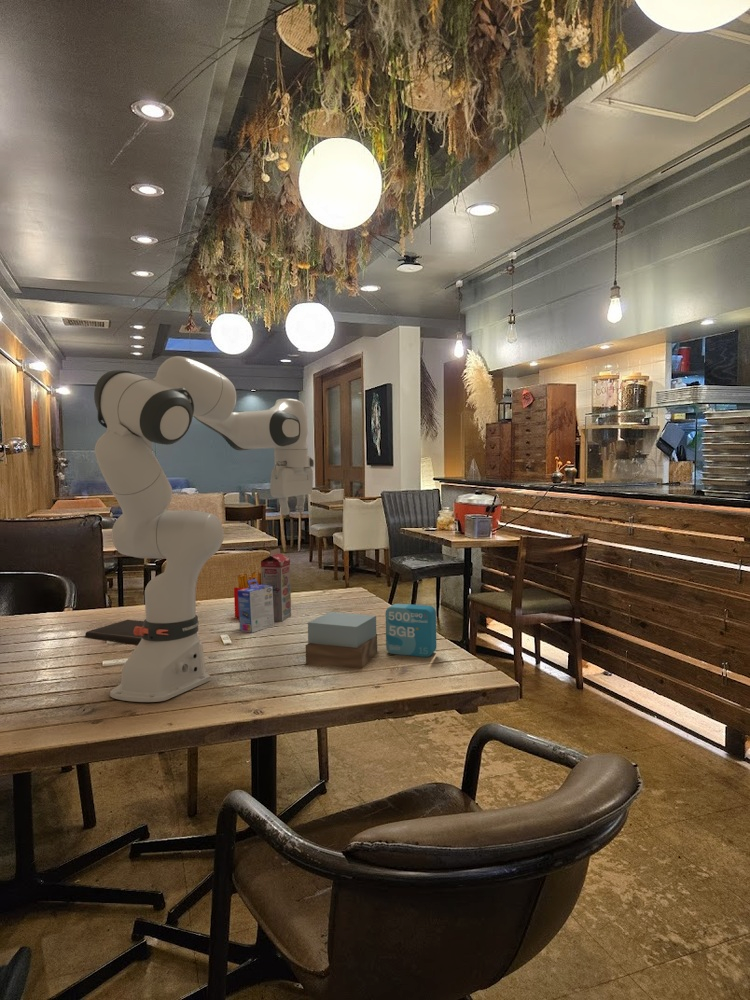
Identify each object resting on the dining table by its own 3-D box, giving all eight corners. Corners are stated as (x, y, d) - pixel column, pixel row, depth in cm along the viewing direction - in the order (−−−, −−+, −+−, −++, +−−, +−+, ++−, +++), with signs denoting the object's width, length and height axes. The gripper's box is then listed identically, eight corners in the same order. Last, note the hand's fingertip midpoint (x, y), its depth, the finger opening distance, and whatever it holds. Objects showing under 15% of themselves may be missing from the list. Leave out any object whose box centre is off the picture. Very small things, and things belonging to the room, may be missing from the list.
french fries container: (233, 619, 203) (232, 575, 203) (254, 613, 211) (253, 571, 210) (249, 622, 199) (248, 577, 198) (270, 616, 207) (269, 572, 206)
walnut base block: (361, 669, 152) (361, 648, 152) (305, 665, 156) (305, 645, 156) (377, 653, 166) (377, 633, 166) (325, 649, 170) (325, 630, 169)
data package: (385, 653, 164) (385, 606, 163) (391, 648, 168) (391, 602, 167) (431, 657, 159) (431, 609, 159) (436, 652, 164) (436, 605, 163)
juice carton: (262, 621, 200) (260, 550, 199) (272, 616, 207) (270, 547, 205) (282, 622, 198) (280, 551, 197) (291, 617, 205) (289, 548, 203)
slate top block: (356, 647, 153) (356, 626, 153) (308, 642, 158) (307, 622, 158) (376, 635, 164) (376, 615, 164) (330, 630, 169) (330, 611, 169)
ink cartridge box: (261, 623, 197) (260, 576, 196) (275, 626, 194) (273, 578, 193) (237, 631, 189) (236, 581, 188) (251, 633, 186) (250, 583, 185)
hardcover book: (128, 626, 199) (127, 619, 199) (187, 633, 189) (187, 625, 189) (85, 640, 184) (84, 632, 184) (147, 647, 175) (147, 639, 175)
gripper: (286, 460, 161) (288, 516, 161) (316, 460, 180) (317, 510, 181) (263, 461, 162) (264, 516, 163) (295, 461, 182) (296, 510, 183)
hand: (292, 513), depth 172 cm, fingers open, 8 cm apart
